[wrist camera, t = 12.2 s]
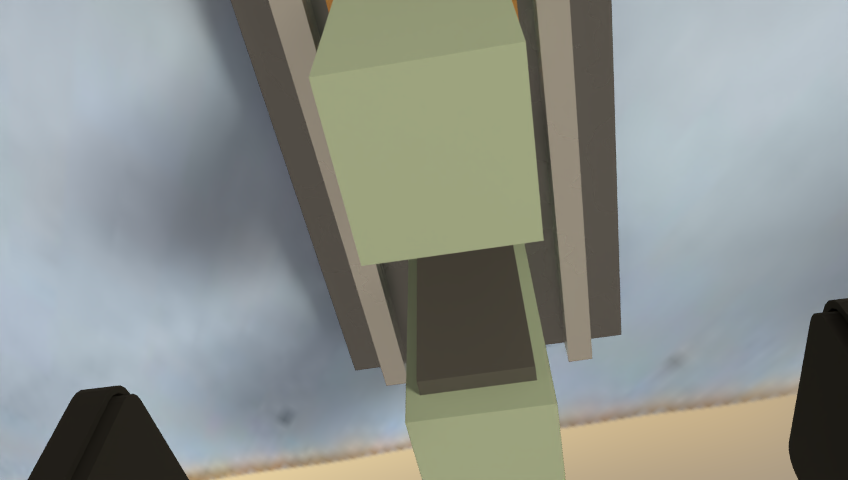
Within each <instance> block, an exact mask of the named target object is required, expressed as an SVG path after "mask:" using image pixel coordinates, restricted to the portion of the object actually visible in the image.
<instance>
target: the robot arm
mask: <svg viewBox="0 0 848 480" xmlns="http://www.w3.org/2000/svg"><path fill="white" fill-rule="evenodd" d="M789 454H790V459H791V463H792V466H793V469H794V471H795V473H796V475H797V478H798V480H848V298H846V299H838V300H830V301H828V302H827V303H826V304H825V307H824V310H823V313H815V314H813V316H812V317H811V321H810V326H809V332H808V337H807V343H806V349H805V354H804V360H803V366H802V371H801V377H800V383H799V388H798V394H797V400H796V405H795V411H794V417H793V422H792V428H791V434H790V439H789ZM28 480H189V479H188V477H187V476H186V474H185V472H184V471H183V469H182V467H181V466H180V464H179V462H178V461H177V459H176V457H175V456H174V454H173V453H172V451H171V449H170V448H169V446H168V444H167V443H166V441H165V439H164V438H163V436H162V434H161V433H160V431H159V429H158V428H157V426H156V424H155V423H154V421H153V419H152V418H151V416H150V414H149V413H148V411H147V409H146V408H145V406H144V404H143V403H142V401H141V400H140V398H139V397H138V396H137V395H135V394H130V393H129V392H128V391H127V390H126V388H124V387H122V386H111V387H103V388H94V389H86V390H81V391H79V392H77V393H76V394H75V395H74V397H73V398H72V399H71V401H70V403H69V405H68V407H67V409H66V410H65V412H64V414H63V416H62V418H61V420H60V421H59V423H58V425H57V427H56V429H55V431H54V432H53V434H52V436H51V438H50V440H49V442H48V443H47V445H46V447H45V449H44V451H43V453H42V454H41V456H40V458H39V460H38V462H37V464H36V465H35V467H34V469H33V471H32V473H31V475H30V476H29V478H28Z"/></svg>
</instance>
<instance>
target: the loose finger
mask: <svg viewBox="0 0 848 480" xmlns="http://www.w3.org/2000/svg"><path fill="white" fill-rule="evenodd" d="M309 81H310V84H311V88H312V91H313V95H314V99H315V102H316V106H317V109H318V113H319V116H320V120H321V124H322V127H323V131H324V134H325V138H326V141H327V145H328V149H329V152H330V156H331V159H332V163H333V166H334V170H335V174H336V177H337V181H338V184H339V188H340V191H341V195H342V199H343V202H344V206H345V209H346V213H347V217H348V220H349V224H350V227H351V231H352V234H353V238H354V242H355V245H356V249H357V252H358V256H359V259H360V263H361V266H365V265H373V264H380V263H387V262H394V261H401V260H408V259H415V258H423V257H430V256H437V255H444V254H451V253H458V252H466V251H473V250H480V249H487V248H494V247H501V246H509V245H516V244H523V243H530V242H537V241H544V239H543V228H542V217H541V206H540V195H539V183H538V172H537V161H536V150H535V139H534V128H533V117H532V105H531V94H530V83H529V72H528V61H527V50H526V41H525V38H524V35H523V32H522V29H521V26H520V23H519V20H518V17H517V14H516V12H515V9H514V6H513V3H512V0H333V2H332V5H331V8H330V12H329V15H328V18H327V21H326V24H325V27H324V31H323V34H322V37H321V40H320V43H319V46H318V50H317V53H316V56H315V59H314V62H313V65H312V69H311V72H310V75H309Z"/></svg>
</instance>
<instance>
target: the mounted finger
mask: <svg viewBox="0 0 848 480" xmlns="http://www.w3.org/2000/svg"><path fill="white" fill-rule="evenodd" d="M405 423H406V427H407V430H408V434H409V437H410V440H411V444H412V447H413V450H414V453H415V457H416V460H417V463H418V467H419V471H420V474H421V477H422V480H565V472H564V462H563V452H562V444H561V434H560V424H559V415H558V406H557V400H556V395H555V390H554V385H553V381H552V376H551V371H550V366H549V361H548V356H547V351H546V346H545V342H544V337H543V332H542V327H541V322H540V317H539V312H538V307H537V303H536V298H535V293H534V288H533V283H532V278H531V273H530V268H529V263H528V259H527V254H526V249H525V244H524V243H523V244H516V245H509V246H501V247H494V248H487V249H480V250H473V251H466V252H458V253H451V254H444V255H437V256H430V257H423V258H415V259H409V260H408V311H407V363H406V414H405Z"/></svg>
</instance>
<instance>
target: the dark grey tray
mask: <svg viewBox="0 0 848 480" xmlns="http://www.w3.org/2000/svg"><path fill="white" fill-rule="evenodd" d="M332 2H333V0H231V3H232V6H233V9H234V12H235V15H236V18H237V20H238V23H239V26H240V29H241V32H242V35H243V38H244V41H245V44H246V47H247V50H248V53H249V56H250V59H251V62H252V65H253V68H254V71H255V74H256V77H257V80H258V83H259V86H260V89H261V92H262V95H263V98H264V101H265V104H266V107H267V109H268V112H269V115H270V118H271V121H272V124H273V127H274V130H275V133H276V136H277V139H278V142H279V145H280V148H281V151H282V154H283V157H284V160H285V163H286V166H287V169H288V172H289V175H290V178H291V181H292V184H293V187H294V190H295V193H296V196H297V198H298V201H299V204H300V207H301V210H302V213H303V216H304V219H305V222H306V225H307V228H308V231H309V234H310V237H311V240H312V243H313V246H314V249H315V252H316V255H317V258H318V261H319V264H320V267H321V270H322V273H323V276H324V279H325V282H326V285H327V287H328V290H329V293H330V296H331V299H332V302H333V305H334V308H335V311H336V314H337V317H338V320H339V323H340V326H341V329H342V332H343V335H344V338H345V341H346V344H347V347H348V350H349V353H350V356H351V359H352V362H353V365H354V368H355V370H362V369H369V368H376V367H381V369H382V372H383V376H384V379H385V382H386V385H387V386H388V385H396V384H404V383H406V363H407V311H408V260H409V259H408V260H401V261H394V262H387V263H380V264H373V265H365V266H361V263H360V259H359V256H358V252H357V249H356V245H355V242H354V238H353V234H352V231H351V227H350V224H349V220H348V217H347V213H346V209H345V206H344V202H343V199H342V195H341V191H340V188H339V184H338V181H337V177H336V174H335V170H334V166H333V163H332V159H331V156H330V152H329V149H328V145H327V141H326V138H325V134H324V131H323V127H322V124H321V120H320V116H319V113H318V109H317V106H316V102H315V99H314V95H313V91H312V88H311V84H310V81H309V75H310V72H311V69H312V65H313V62H314V59H315V56H316V53H317V50H318V46H319V43H320V40H321V37H322V34H323V31H324V27H325V24H326V21H327V18H328V15H329V12H330V8H331V5H332ZM512 3H513V6H514V9H515V12H516V14H517V17H518V20H519V23H520V26H521V29H522V32H523V35H524V38H525V41H526V50H527V61H528V72H529V83H530V94H531V105H532V117H533V128H534V139H535V150H536V161H537V172H538V183H539V195H540V206H541V217H542V228H543V239H544V241H537V242H530V243H524V244H525V249H526V254H527V259H528V263H529V268H530V273H531V278H532V283H533V288H534V293H535V298H536V303H537V307H538V312H539V317H540V322H541V327H542V332H543V337H544V342H545V345H547V344H555V343H562V342H564V344H565V348H566V352H567V356H568V360H569V362H571V361H578V360H586V359H592V347H591V339H592V338H599V337H607V336H614V335H621V311H620V277H619V242H618V208H617V174H616V140H615V106H614V72H613V38H612V4H611V0H512Z"/></svg>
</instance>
